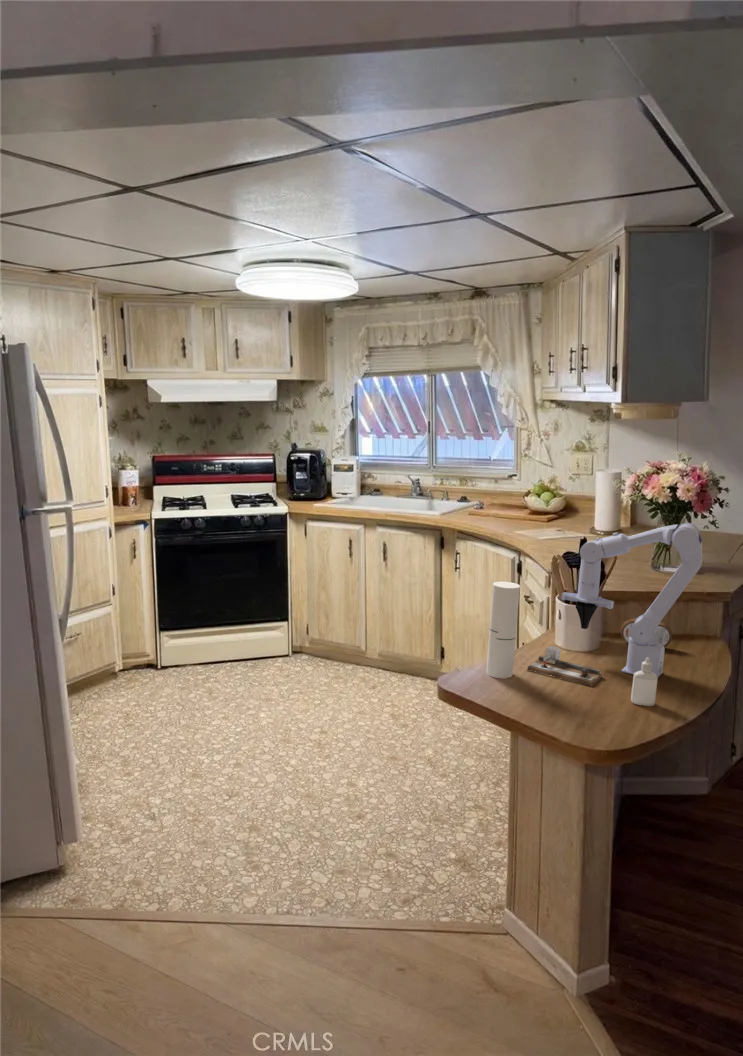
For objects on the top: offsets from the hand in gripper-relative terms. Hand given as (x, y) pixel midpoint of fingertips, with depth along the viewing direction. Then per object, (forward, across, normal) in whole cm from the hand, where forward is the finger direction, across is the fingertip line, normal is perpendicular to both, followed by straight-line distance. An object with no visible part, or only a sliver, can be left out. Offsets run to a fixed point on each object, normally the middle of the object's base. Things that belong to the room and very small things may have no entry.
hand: (584, 627), depth 218 cm
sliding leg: (+8, -5, -13) cm, 16 cm away
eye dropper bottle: (+10, +23, -21) cm, 33 cm away
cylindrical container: (+10, -14, -26) cm, 31 cm away
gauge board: (+10, 0, -14) cm, 17 cm away
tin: (+10, +11, +27) cm, 31 cm away
